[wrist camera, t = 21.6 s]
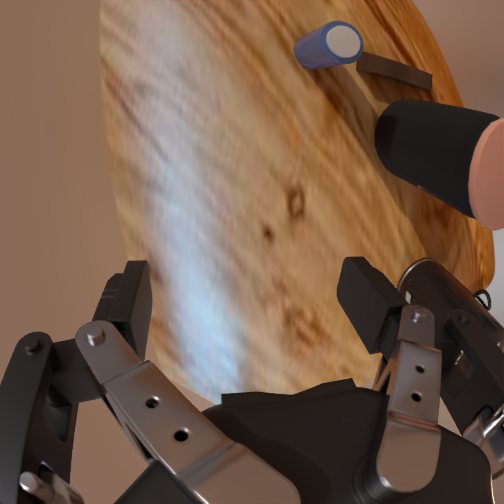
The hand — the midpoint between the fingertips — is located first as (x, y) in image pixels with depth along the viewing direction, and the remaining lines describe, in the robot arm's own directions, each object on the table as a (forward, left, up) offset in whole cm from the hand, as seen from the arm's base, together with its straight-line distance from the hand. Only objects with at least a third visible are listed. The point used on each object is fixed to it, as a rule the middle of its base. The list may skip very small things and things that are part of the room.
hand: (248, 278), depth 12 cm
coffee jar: (-24, -5, -24) cm, 34 cm away
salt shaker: (-10, -13, -24) cm, 29 cm away
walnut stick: (-21, -13, -24) cm, 35 cm away
